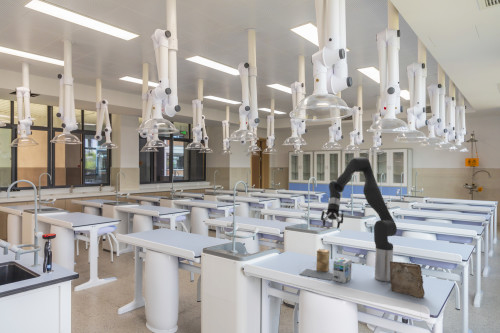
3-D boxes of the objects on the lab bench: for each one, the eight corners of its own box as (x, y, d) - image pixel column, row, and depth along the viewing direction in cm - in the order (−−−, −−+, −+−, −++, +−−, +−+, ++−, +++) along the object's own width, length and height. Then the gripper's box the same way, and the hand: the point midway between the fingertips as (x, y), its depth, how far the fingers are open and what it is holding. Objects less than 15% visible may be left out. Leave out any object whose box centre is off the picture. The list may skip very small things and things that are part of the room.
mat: (336, 274, 191) (336, 273, 191) (330, 280, 179) (330, 280, 179) (306, 269, 199) (306, 268, 199) (299, 274, 187) (299, 274, 187)
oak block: (328, 270, 199) (329, 250, 199) (326, 272, 194) (326, 252, 194) (319, 268, 202) (319, 248, 202) (316, 270, 197) (316, 250, 197)
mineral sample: (425, 297, 159) (425, 265, 159) (422, 299, 156) (423, 267, 156) (389, 288, 170) (390, 258, 171) (386, 289, 167) (387, 260, 168)
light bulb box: (344, 283, 175) (345, 263, 176) (332, 280, 179) (333, 260, 180) (351, 278, 184) (352, 259, 184) (340, 276, 188) (340, 257, 188)
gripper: (323, 201, 221) (319, 222, 212) (345, 204, 217) (342, 225, 208) (323, 207, 227) (319, 227, 218) (344, 210, 223) (341, 231, 214)
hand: (330, 226), depth 213 cm, fingers open, 8 cm apart
